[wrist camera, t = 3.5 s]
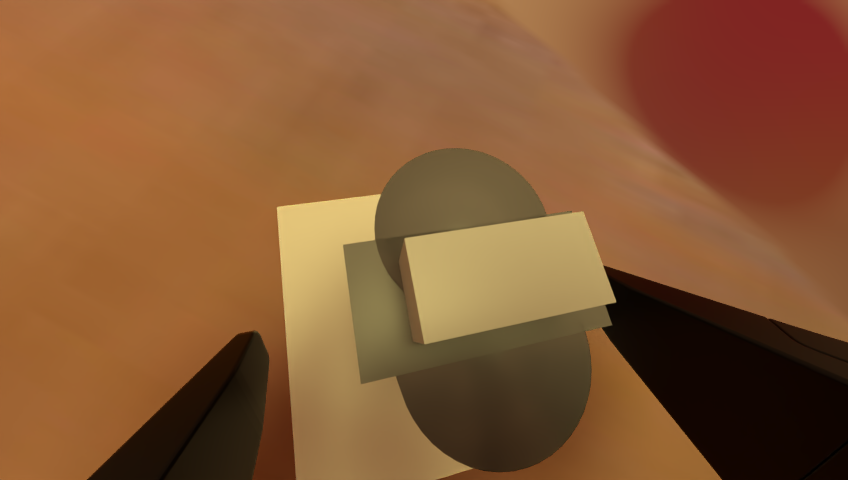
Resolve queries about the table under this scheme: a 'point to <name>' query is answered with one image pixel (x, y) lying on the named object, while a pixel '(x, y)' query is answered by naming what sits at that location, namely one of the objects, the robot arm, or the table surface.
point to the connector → (478, 308)
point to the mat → (341, 359)
